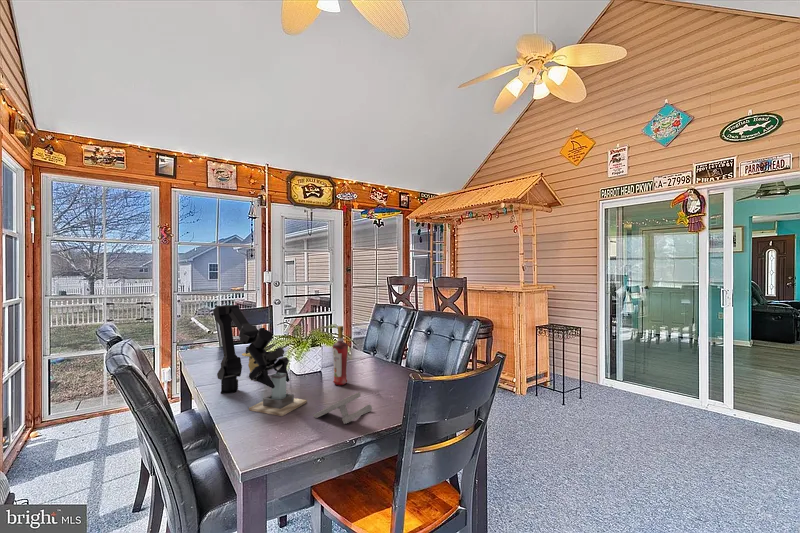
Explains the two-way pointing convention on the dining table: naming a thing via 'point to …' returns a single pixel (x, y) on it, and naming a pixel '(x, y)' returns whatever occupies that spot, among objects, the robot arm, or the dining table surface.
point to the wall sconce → (250, 361)
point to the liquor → (340, 359)
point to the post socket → (278, 405)
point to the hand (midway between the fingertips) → (281, 384)
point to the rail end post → (279, 386)
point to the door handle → (342, 407)
